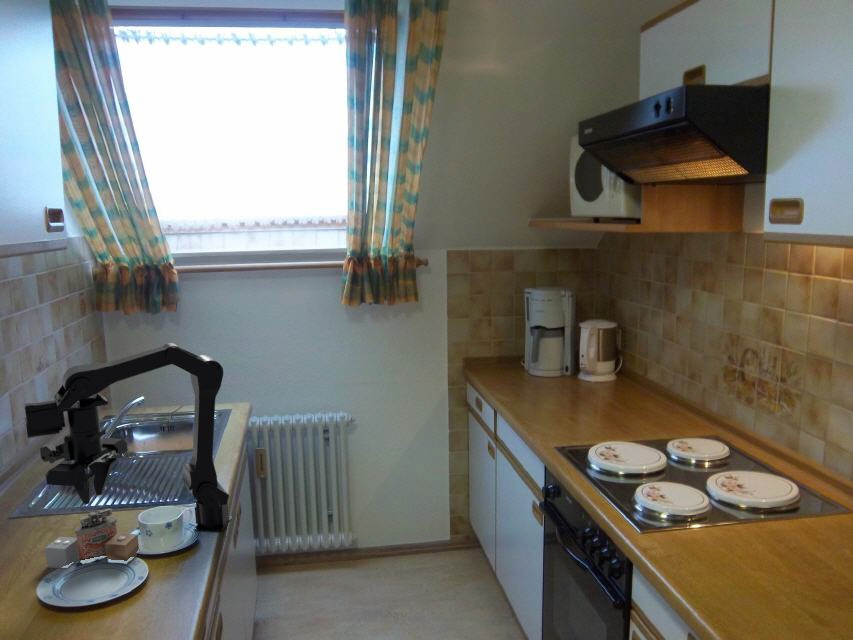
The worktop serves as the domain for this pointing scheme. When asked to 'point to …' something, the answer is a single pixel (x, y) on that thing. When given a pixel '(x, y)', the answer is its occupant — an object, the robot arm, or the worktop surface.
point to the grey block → (62, 552)
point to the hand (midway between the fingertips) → (92, 499)
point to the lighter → (95, 533)
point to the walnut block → (122, 546)
